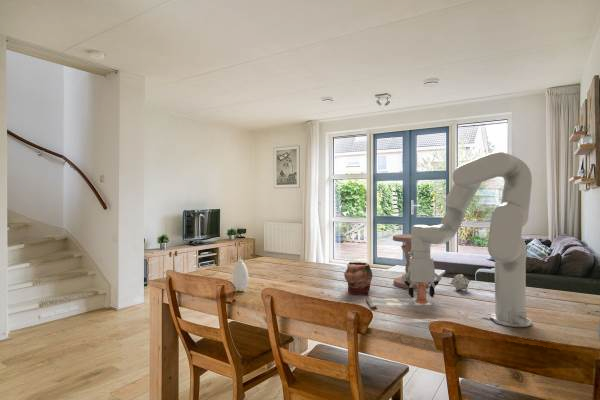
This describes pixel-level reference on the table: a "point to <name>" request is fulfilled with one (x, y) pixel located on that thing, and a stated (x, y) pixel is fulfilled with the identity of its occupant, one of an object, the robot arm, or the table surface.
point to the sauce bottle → (240, 275)
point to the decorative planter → (358, 277)
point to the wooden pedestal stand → (406, 249)
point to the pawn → (421, 293)
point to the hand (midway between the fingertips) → (421, 296)
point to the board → (393, 302)
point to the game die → (460, 282)
